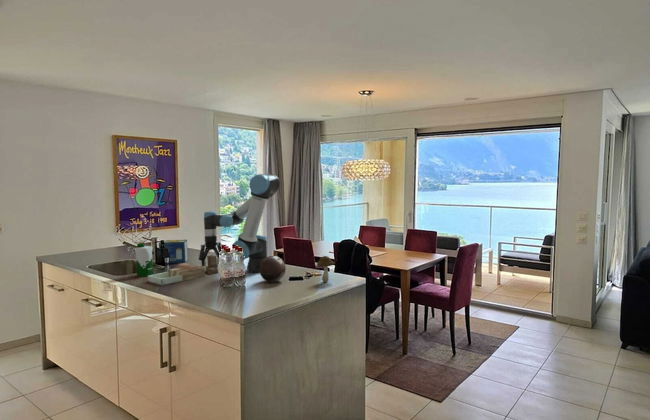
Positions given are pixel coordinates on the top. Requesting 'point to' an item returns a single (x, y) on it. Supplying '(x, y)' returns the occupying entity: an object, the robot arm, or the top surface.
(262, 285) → the top surface
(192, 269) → the tile
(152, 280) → the tray
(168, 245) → the protein box
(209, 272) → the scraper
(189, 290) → the top surface
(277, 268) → the wooden sphere
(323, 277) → the mushroom
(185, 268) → the tile
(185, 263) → the tile
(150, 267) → the milk carton
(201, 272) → the bench plate
